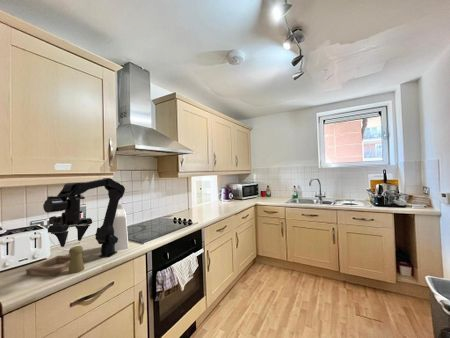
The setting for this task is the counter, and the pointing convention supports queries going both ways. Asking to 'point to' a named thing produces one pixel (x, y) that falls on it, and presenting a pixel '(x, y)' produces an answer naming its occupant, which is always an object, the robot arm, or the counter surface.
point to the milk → (120, 228)
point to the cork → (76, 260)
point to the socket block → (45, 270)
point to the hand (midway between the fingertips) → (71, 243)
